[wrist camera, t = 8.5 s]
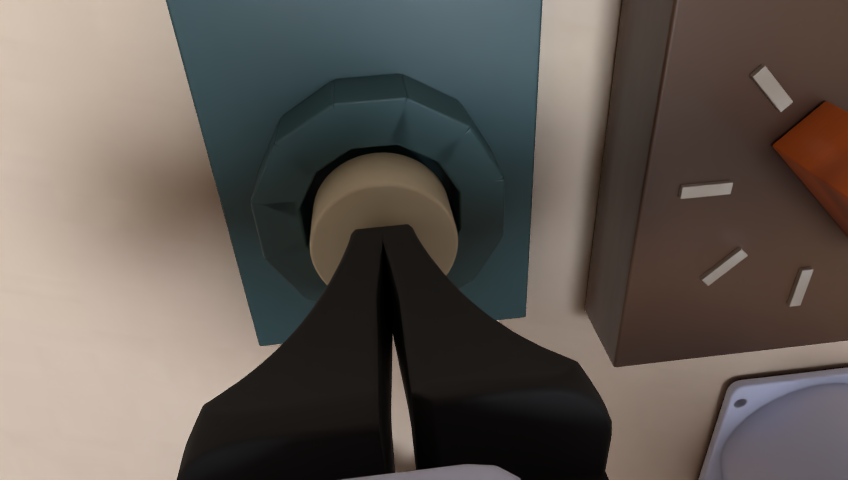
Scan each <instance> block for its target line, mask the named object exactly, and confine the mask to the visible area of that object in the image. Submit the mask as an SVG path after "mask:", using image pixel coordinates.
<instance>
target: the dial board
mask: <svg viewBox="0 0 848 480" xmlns="http://www.w3.org/2000/svg"><path fill="white" fill-rule="evenodd" d="M825 101H828V102H830V103H832V104H834V105H836V106H838V107H839V108H841V109H843V110H845V111H847V112H848V0H622V9H621V17H620V25H619V33H618V41H617V50H616V58H615V66H614V74H613V82H612V91H611V99H610V107H609V115H608V123H607V132H606V140H605V148H604V156H603V164H602V173H601V181H600V189H599V197H598V206H597V214H596V222H595V230H594V238H593V247H592V255H591V263H590V271H589V279H588V288H587V296H586V304H585V311H586V313H587V315H588V317H589V319H590V321H591V323H592V325H593V327H594V329H595V331H596V333H597V335H598V337H599V339H600V341H601V343H602V345H603V346H604V348H605V350H606V352H607V354H608V356H609V358H610V360H611V362H612V364H613V366H614V367H622V366H630V365H639V364H648V363H656V362H665V361H674V360H682V359H691V358H700V357H708V356H717V355H726V354H734V353H743V352H752V351H760V350H769V349H778V348H786V347H795V346H804V345H812V344H821V343H830V342H838V341H847V340H848V236H847V235H846V234H845V232H844V231H843V230H842V229H841V228H840V226H839V225H838V224H837V223H836V222H835V220H834V219H833V218H832V217H831V216H830V215H829V213H828V212H827V211H826V210H825V209H824V207H823V206H822V205H821V204H820V203H819V201H818V200H817V199H816V198H815V197H814V195H813V194H812V193H811V192H810V191H809V190H808V188H807V187H806V186H805V185H804V184H803V182H802V181H801V180H800V179H799V178H798V176H797V175H796V174H795V173H794V172H793V170H792V169H791V168H790V167H789V166H788V165H787V163H786V162H785V161H784V160H783V159H782V157H781V156H780V155H779V154H778V153H777V151H776V150H775V149H774V148H773V144H774V143H775V142H777V141H778V140H779V139H780V138H781V137H783V136H784V135H785V134H786V133H787V132H789V131H790V130H791V129H792V128H793V127H795V126H796V125H797V124H798V123H800V122H801V121H802V120H803V119H804V118H806V117H807V116H808V115H809V114H810V113H812V112H813V111H814V110H815V109H816V108H818V107H819V106H820V105H821V104H822V103H824V102H825Z"/></svg>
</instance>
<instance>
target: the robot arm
mask: <svg viewBox="0 0 848 480" xmlns="http://www.w3.org/2000/svg"><path fill="white" fill-rule="evenodd" d="M392 336H393V337H394V342H395V347H396V352H397V356H398V361H399V366H400V371H401V375H402V380H403V385H404V390H405V394H406V399H407V404H408V409H409V415H410V421H411V427H412V437H413V446H414V455H415V464H416V470H414V471H406V472H398V473H395V464H394V452H393V440H392V426H391V391H392ZM611 436H612V421H611V419H610V416H609V414H608V411H607V409H606V406H605V404H604V402H603V400H602V398H601V396H600V395H599V393H598V391H597V390H596V388H595V387H594V385H593V384H592V382H591V380H590V379H589V378H588V376H587V375H586V373H585V372H584V370H583V369H582V367H581V366H580V365H579V363H578V362H577V361H574V360H572V359H570V358H567V357H565V356H562V355H560V354H558V353H555V352H553V351H550V350H548V349H546V348H543V347H541V346H539V345H537V344H535V343H533V342H531V341H529V340H527V339H526V338H524V337H522V336H520V335H518V334H516V333H515V332H513V331H511V330H510V329H508V328H507V327H505V326H504V325H502V324H501V323H499V322H498V321H496V320H494V319H493V318H492V317H490V316H489V315H488V314H486V313H485V312H484V311H482V310H481V309H480V308H479V307H478V306H477V305H475V304H474V303H473V302H472V301H471V300H470V299H468V298H467V297H466V296H465V295H464V294H463V293H462V292H461V291H460V290H459V289H458V288H457V287H456V286H455V285H454V284H453V283H452V282H451V281H450V280H449V278H448V277H447V276H446V275H445V274H444V273H443V272H442V270H441V269H440V268H439V267H438V265H437V264H436V263H435V262H434V261H433V259H432V258H431V257H430V255H429V254H428V253H427V251H426V250H425V248H424V247H423V245H422V244H421V242H420V241H419V239H418V237H417V236H416V234H415V232H414V229H413V228H412V227H411V226H410V225H409V224H404V225H394V226H384V227H374V228H364V229H355V230H354V231H353V232H352V234H351V236H350V240H349V243H348V245H347V248H346V250H345V253H344V255H343V257H342V259H341V261H340V263H339V265H338V267H337V269H336V271H335V273H334V275H333V276H332V278H331V280H330V282H329V284H328V285H327V287H326V288H325V290H324V291H323V293H322V295H321V296H320V298H319V299H318V301H317V302H316V304H315V305H314V307H313V308H312V310H311V311H310V312H309V314H308V315H307V316H306V318H305V319H304V320H303V321H302V322H301V324H300V325H299V326H298V327H297V329H296V330H295V331H294V332H293V333H292V334H291V335H290V336H289V337H288V339H287V340H286V341H285V342H284V343H283V344H282V345H281V346H280V347H279V348H278V349H277V350H276V351H275V352H274V353H273V354H272V355H271V356H270V357H269V358H267V359H266V360H265V361H264V362H263V363H262V364H261V365H259V366H258V367H257V368H256V369H254V370H253V371H252V372H251V373H249V374H248V375H247V376H246V377H244V378H243V379H242V380H240V381H239V382H238V383H236V384H235V385H233V386H232V387H230V388H229V389H227V390H226V391H224V392H223V393H221V394H220V395H218V396H217V397H215V398H214V399H212V400H211V401H209V402H208V403H206V404H204V406H203V407H202V409H201V411H200V414H199V416H198V418H197V420H196V423H195V425H194V427H193V429H192V432H191V434H190V436H189V439H188V441H187V444H186V447H185V450H184V454H183V458H182V462H181V465H180V469H179V473H178V477H177V480H609V479H608V477H607V474H606V472H605V469H606V464H607V458H608V453H609V447H610V441H611ZM698 480H848V367H847V368H839V369H830V370H822V371H813V372H805V373H796V374H788V375H779V376H771V377H762V378H754V379H746V380H739V381H736V382H734V383H732V384H731V385H730V386H729V387H728V389H727V392H726V395H725V398H724V401H723V404H722V407H721V410H720V413H719V417H718V420H717V423H716V426H715V429H714V432H713V435H712V439H711V442H710V445H709V448H708V451H707V454H706V457H705V461H704V464H703V467H702V470H701V473H700V476H699V479H698Z"/></svg>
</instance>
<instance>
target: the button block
mask: <svg viewBox="0 0 848 480" xmlns="http://www.w3.org/2000/svg"><path fill="white" fill-rule="evenodd" d="M166 2H167V6H168V10H169V14H170V17H171V21H172V25H173V28H174V32H175V36H176V39H177V43H178V47H179V50H180V54H181V58H182V61H183V65H184V69H185V73H186V76H187V80H188V84H189V87H190V91H191V95H192V98H193V102H194V106H195V109H196V113H197V117H198V120H199V124H200V128H201V132H202V135H203V139H204V143H205V146H206V150H207V154H208V157H209V161H210V165H211V168H212V172H213V176H214V179H215V183H216V187H217V191H218V194H219V198H220V202H221V205H222V209H223V213H224V216H225V220H226V224H227V227H228V231H229V235H230V239H231V242H232V246H233V250H234V253H235V257H236V261H237V264H238V268H239V272H240V275H241V279H242V283H243V286H244V290H245V294H246V298H247V301H248V305H249V309H250V312H251V316H252V320H253V323H254V327H255V331H256V334H257V338H258V342H259V345H260V346H265V345H275V344H283V343H284V342H285V341H286V340H287V339H288V337H289V336H290V335H291V334H292V333H293V332H294V331H295V330H296V329H297V327H298V326H299V325H300V324H301V322H302V321H303V320H304V319H305V318H306V316H307V315H308V314H309V312H310V311H311V310H312V308H313V307H314V305H315V304H316V302H317V301H318V299H319V298H320V296H321V295H322V293H323V291H324V290H325V288H326V287H327V285H326V284H325V282H324V281H323V280H322V279H321V278H320V276H319V275H318V273H317V271H316V270H315V267H314V265H313V263H312V259H311V255H310V233H311V223H312V213H313V205H314V200H315V197H316V194H317V191H318V189H319V187H320V186H321V184H322V182H323V181H324V180H325V178H326V177H327V176H328V175H329V174H330V173H331V172H332V171H333V170H334V169H336V168H337V167H338V166H340V165H341V164H343V163H345V162H346V161H348V160H350V159H353V158H355V157H358V156H361V155H365V154H370V153H381V152H386V153H395V154H400V155H404V156H407V157H410V158H412V159H415V160H417V161H419V162H420V163H422V164H423V165H425V166H426V167H428V168H429V169H430V170H431V171H432V172H433V173H434V174H435V175H436V176H437V177H438V179H439V180H440V182H441V183H442V185H443V186H444V189H445V191H446V193H447V197H448V200H449V204H450V207H451V211H452V214H453V218H454V221H455V225H456V229H457V233H458V249H457V254H456V258H455V261H454V263H453V265H452V267H451V269H450V271H449V273H448V274H447V275H446V276H447V277H448V278H449V280H450V281H451V282H452V283H453V284H454V285H455V286H456V287H457V288H458V289H459V290H460V291H461V292H462V293H463V294H464V295H465V296H466V297H467V298H468V299H470V300H471V301H472V302H473V303H474V304H475V305H477V306H478V307H479V308H480V309H481V310H482V311H484V312H485V313H486V314H488V315H489V316H490V317H492V318H493V319H494V320H503V319H512V318H521V317H525V316H526V301H527V282H528V263H529V244H530V225H531V206H532V187H533V168H534V149H535V130H536V112H537V93H538V74H539V55H540V36H541V17H542V0H166Z"/></svg>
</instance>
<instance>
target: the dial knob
mask: <svg viewBox="0 0 848 480" xmlns="http://www.w3.org/2000/svg"><path fill="white" fill-rule="evenodd" d="M773 148H774V149H775V150H776V151H777V153H778V154H779V155H780V156H781V157H782V159H783V160H784V161H785V162H786V163H787V165H788V166H789V167H790V168H791V169H792V170H793V172H794V173H795V174H796V175H797V176H798V178H799V179H800V180H801V181H802V182H803V184H804V185H805V186H806V187H807V188H808V190H809V191H810V192H811V193H812V194H813V195H814V197H815V198H816V199H817V200H818V201H819V203H820V204H821V205H822V206H823V207H824V209H825V210H826V211H827V212H828V213H829V215H830V216H831V217H832V218H833V219H834V220H835V222H836V223H837V224H838V225H839V226H840V228H841V229H842V230H843V231H844V232H845V234H846V235H847V236H848V112H847V111H845V110H843V109H841V108H839V107H838V106H836V105H834V104H832V103H830V102H828V101H825V102H824V103H822V104H821V105H820V106H819V107H818V108H816V109H815V110H814V111H813V112H812V113H810V114H809V115H808V116H807V117H806V118H804V119H803V120H802V121H801V122H800V123H798V124H797V125H796V126H795V127H793V128H792V129H791V130H790V131H789V132H787V133H786V134H785V135H784V136H783V137H781V138H780V139H779V140H778V141H777V142H775V143H774V144H773Z"/></svg>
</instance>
